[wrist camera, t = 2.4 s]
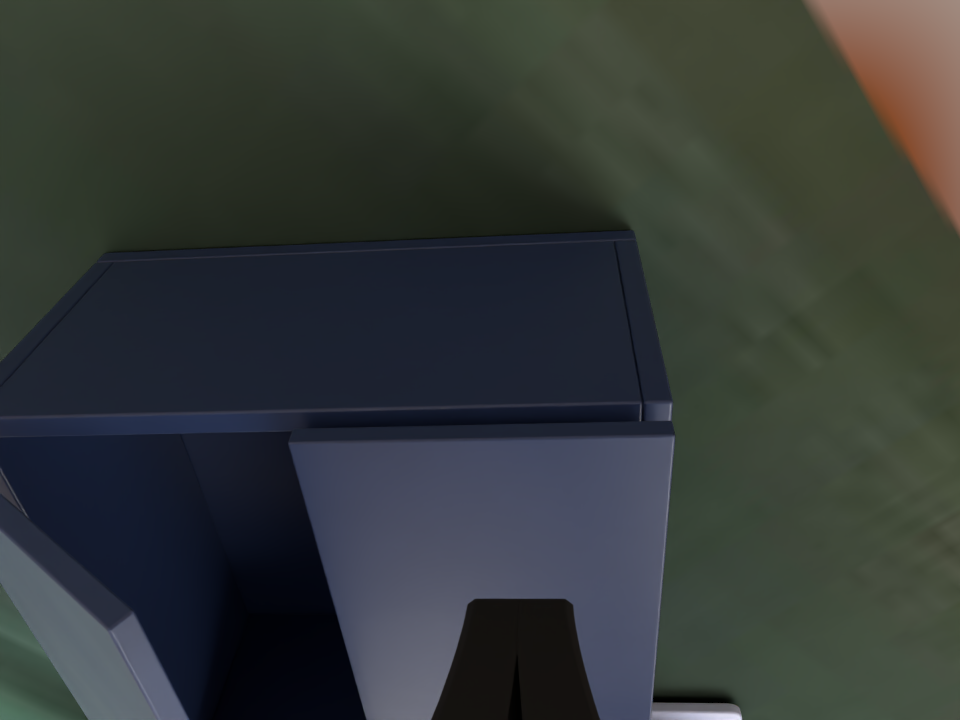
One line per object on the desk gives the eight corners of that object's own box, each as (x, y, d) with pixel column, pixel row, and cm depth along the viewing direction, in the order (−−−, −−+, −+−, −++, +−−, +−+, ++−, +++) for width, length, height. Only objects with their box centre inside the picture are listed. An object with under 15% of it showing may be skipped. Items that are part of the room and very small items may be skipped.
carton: (619, 610, 26) (643, 845, 21) (243, 610, 28) (162, 832, 22) (634, 228, 18) (680, 433, 13) (103, 252, 20) (-84, 447, 14)
